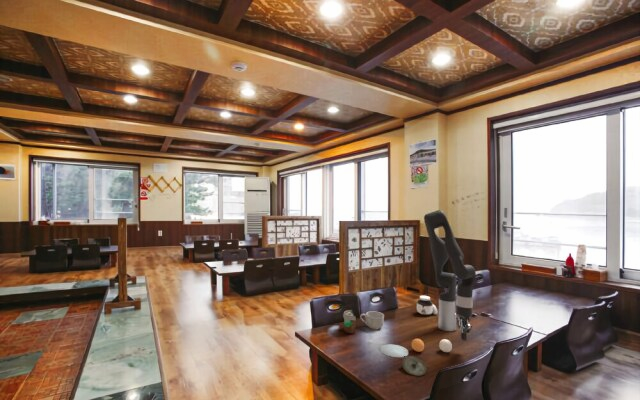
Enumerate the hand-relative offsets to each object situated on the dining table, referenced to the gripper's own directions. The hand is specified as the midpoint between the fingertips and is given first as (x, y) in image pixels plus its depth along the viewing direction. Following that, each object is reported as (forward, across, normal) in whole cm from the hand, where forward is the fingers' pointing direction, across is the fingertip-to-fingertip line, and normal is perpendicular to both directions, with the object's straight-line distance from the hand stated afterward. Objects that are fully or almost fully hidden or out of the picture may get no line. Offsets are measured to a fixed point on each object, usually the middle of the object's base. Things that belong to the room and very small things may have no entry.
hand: (463, 339), depth 158 cm
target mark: (+6, -1, +35) cm, 36 cm away
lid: (+7, -19, +30) cm, 37 cm away
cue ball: (+3, 0, +9) cm, 10 cm away
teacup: (+6, +30, +41) cm, 51 cm away
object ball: (+3, 0, +23) cm, 23 cm away
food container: (+7, +24, +56) cm, 61 cm away
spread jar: (+6, +57, -2) cm, 58 cm away
